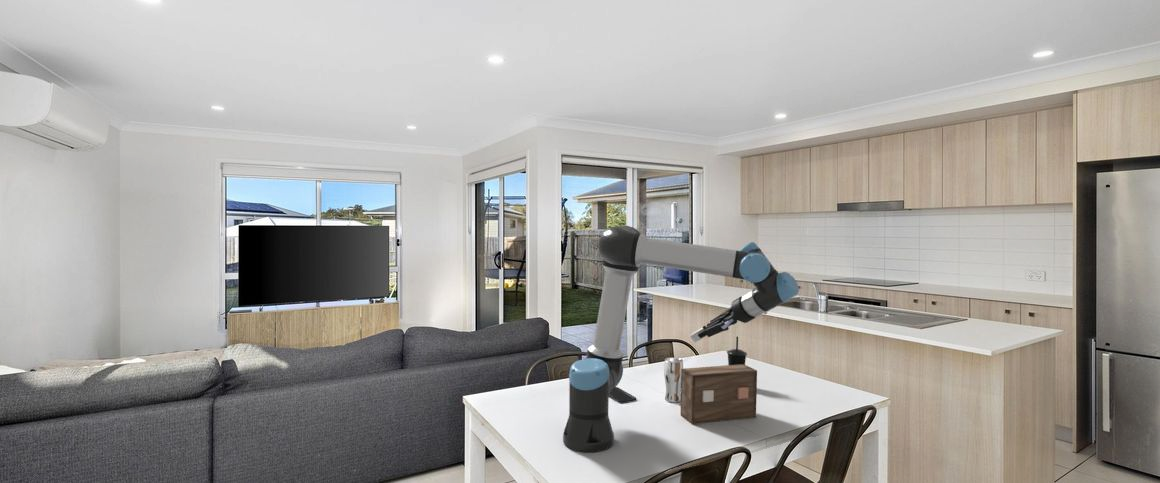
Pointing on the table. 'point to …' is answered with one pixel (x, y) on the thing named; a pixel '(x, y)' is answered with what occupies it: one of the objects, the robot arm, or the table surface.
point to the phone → (621, 396)
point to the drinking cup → (736, 355)
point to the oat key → (707, 395)
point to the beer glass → (673, 379)
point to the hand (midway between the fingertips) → (693, 338)
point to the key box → (718, 393)
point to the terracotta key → (742, 392)
